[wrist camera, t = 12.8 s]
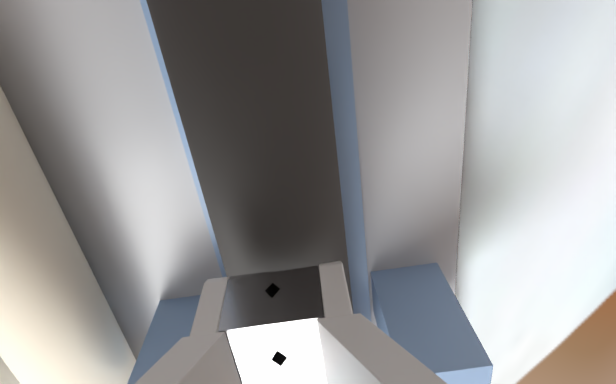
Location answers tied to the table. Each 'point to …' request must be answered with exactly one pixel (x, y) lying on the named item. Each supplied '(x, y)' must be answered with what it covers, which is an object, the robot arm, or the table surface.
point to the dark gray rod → (258, 127)
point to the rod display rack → (186, 188)
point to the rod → (48, 282)
